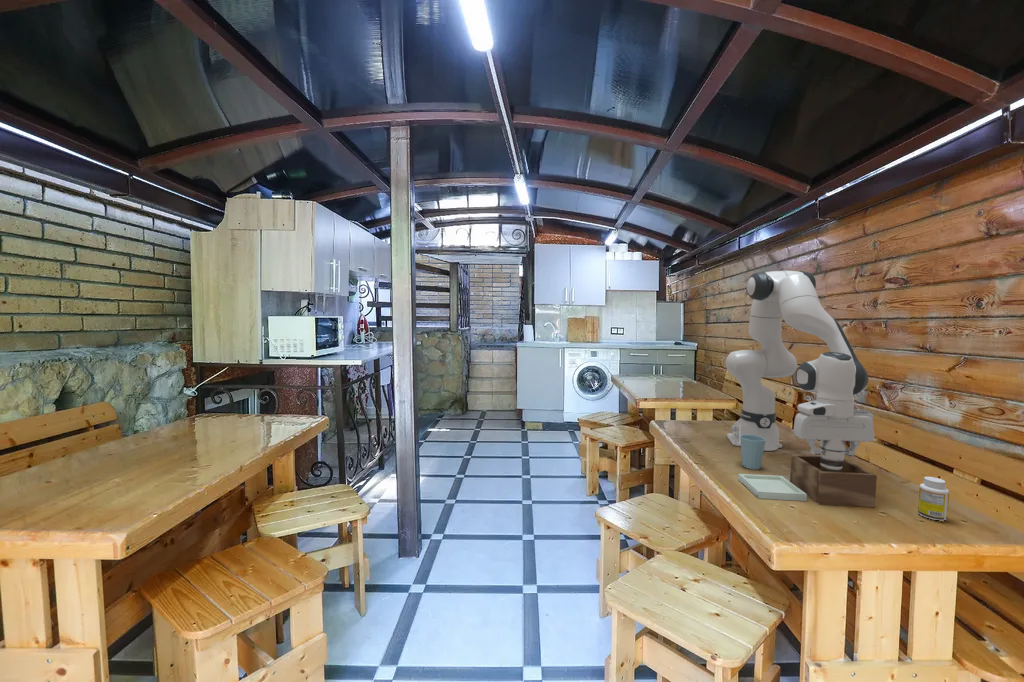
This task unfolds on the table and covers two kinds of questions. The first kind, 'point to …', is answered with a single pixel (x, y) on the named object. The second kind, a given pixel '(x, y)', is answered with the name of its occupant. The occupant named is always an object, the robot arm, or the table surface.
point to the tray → (772, 487)
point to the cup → (752, 451)
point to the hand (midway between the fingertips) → (832, 454)
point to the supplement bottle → (933, 499)
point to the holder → (833, 482)
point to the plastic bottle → (832, 455)
